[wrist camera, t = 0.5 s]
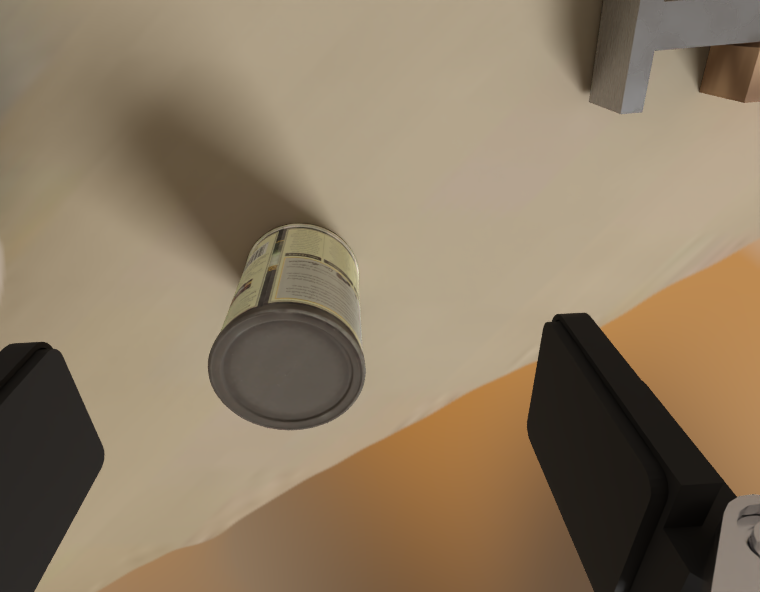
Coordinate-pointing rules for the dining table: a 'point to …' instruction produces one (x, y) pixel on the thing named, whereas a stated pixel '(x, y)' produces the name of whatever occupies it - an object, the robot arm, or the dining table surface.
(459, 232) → the dining table surface
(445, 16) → the dining table surface
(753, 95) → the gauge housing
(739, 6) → the grey angular frame piece
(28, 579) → the robot arm
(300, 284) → the coffee can
